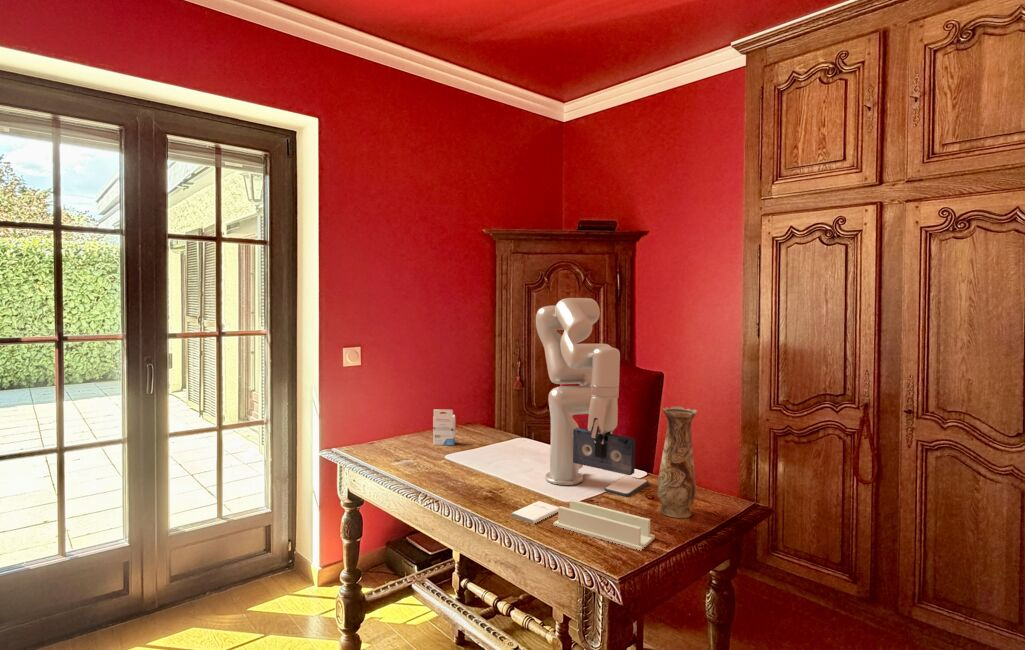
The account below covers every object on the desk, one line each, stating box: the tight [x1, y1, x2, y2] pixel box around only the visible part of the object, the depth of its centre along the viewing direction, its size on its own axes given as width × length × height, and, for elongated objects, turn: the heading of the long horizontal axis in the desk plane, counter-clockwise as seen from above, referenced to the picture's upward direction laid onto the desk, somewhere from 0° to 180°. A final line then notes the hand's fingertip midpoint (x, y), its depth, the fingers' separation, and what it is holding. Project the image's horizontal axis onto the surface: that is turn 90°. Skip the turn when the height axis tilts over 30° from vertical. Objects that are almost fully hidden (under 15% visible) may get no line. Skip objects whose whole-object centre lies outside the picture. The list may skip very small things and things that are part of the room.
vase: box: [657, 405, 698, 519], centre depth 162 cm, size 10×11×30 cm
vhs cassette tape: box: [573, 427, 636, 476], centre depth 159 cm, size 18×3×10 cm, turn 53°
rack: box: [552, 499, 656, 552], centre depth 149 cm, size 9×25×5 cm, turn 55°
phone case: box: [603, 475, 649, 498], centre depth 183 cm, size 9×2×16 cm
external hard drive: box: [510, 500, 559, 525], centre depth 160 cm, size 2×8×12 cm
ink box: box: [432, 408, 456, 446], centre depth 232 cm, size 8×5×15 cm, turn 85°
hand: (602, 455), depth 159 cm, fingers closed on vhs cassette tape, 2 cm apart
